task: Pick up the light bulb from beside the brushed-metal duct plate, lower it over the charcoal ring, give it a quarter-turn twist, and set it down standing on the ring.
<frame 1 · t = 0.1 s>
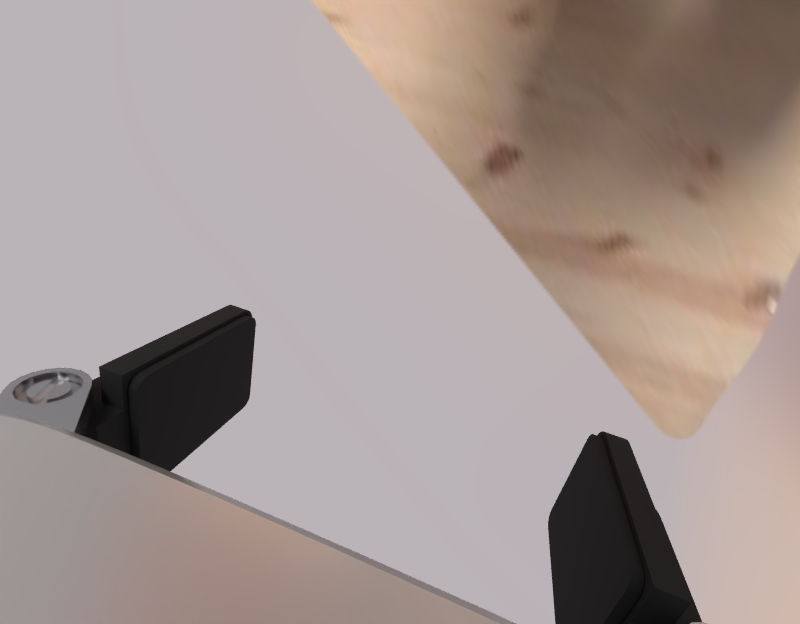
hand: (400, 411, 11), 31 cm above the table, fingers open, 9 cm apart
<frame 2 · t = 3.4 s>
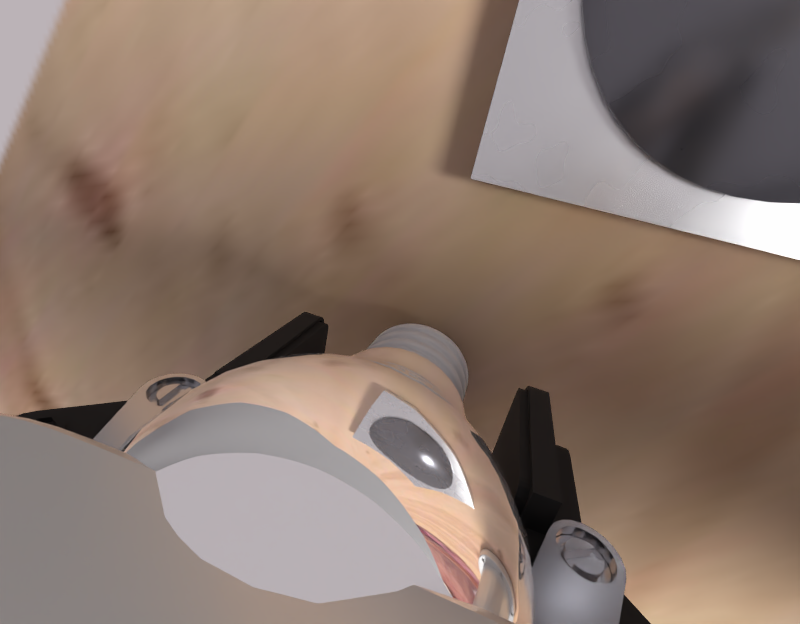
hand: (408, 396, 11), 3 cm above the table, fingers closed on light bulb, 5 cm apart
light bulb: (426, 350, 14), on the table, touching gripper
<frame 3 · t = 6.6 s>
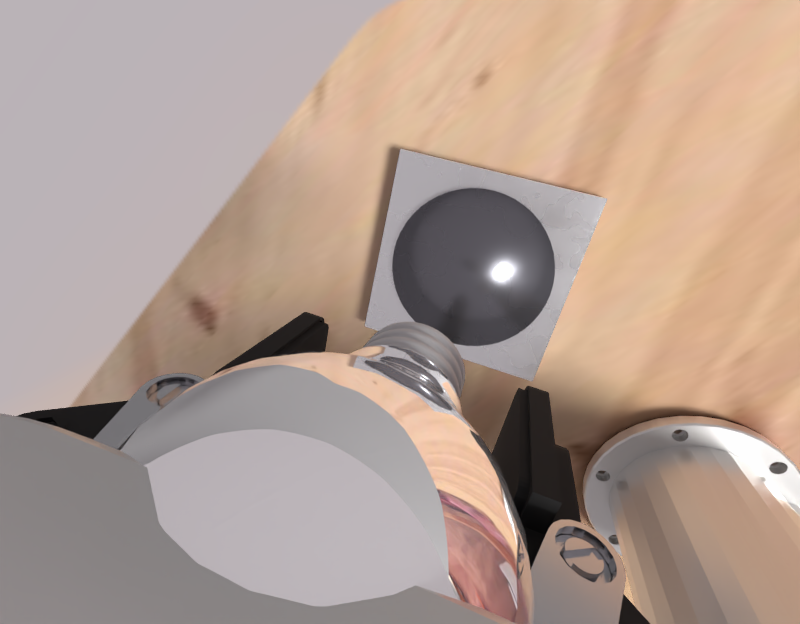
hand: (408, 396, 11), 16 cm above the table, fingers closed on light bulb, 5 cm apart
light bulb: (423, 349, 14), point 13 cm above the table, touching gripper
duct plate: (471, 267, 26), on the table
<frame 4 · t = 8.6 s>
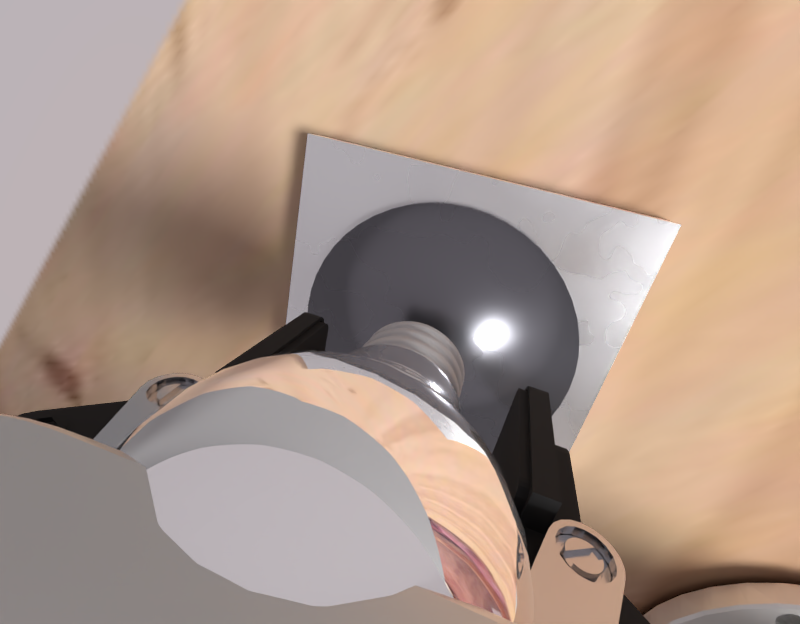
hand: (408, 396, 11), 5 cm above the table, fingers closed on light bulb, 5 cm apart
light bulb: (422, 348, 14), point 2 cm above the table, touching gripper
duct plate: (437, 330, 16), on the table
when the fingers open (5 cm above the table, at t = 10.1 s): light bulb stays where it is, resting on duct plate.
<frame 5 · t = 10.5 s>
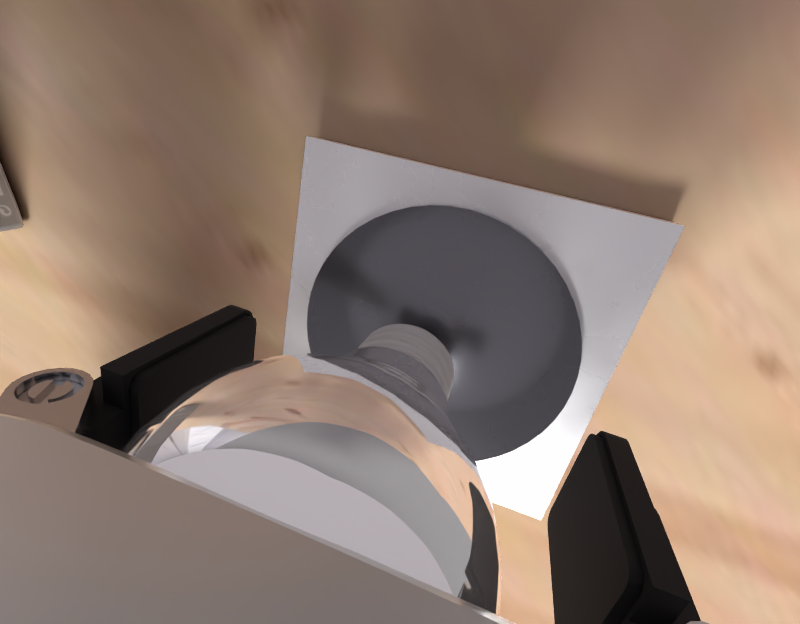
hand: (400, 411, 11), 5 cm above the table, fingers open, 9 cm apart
light bulb: (416, 349, 15), point 1 cm above the table, touching duct plate
duct plate: (438, 334, 16), on the table
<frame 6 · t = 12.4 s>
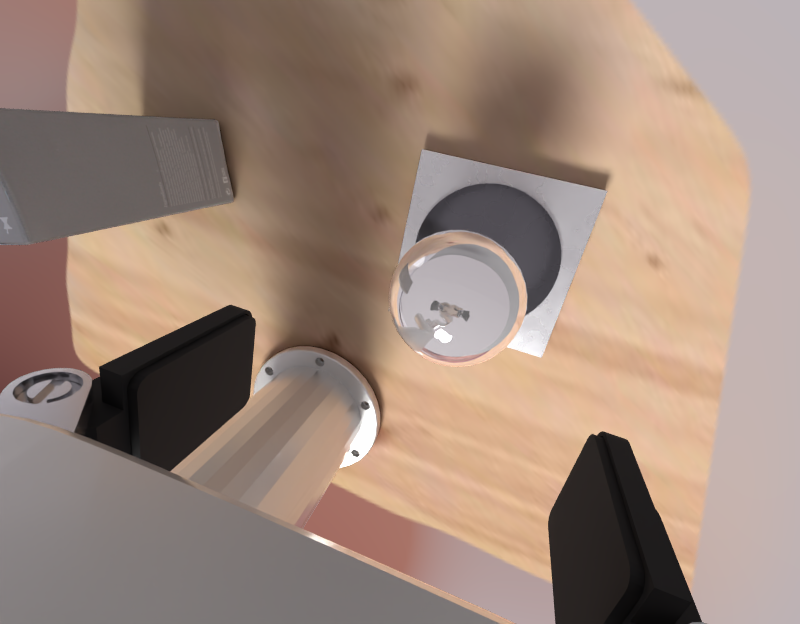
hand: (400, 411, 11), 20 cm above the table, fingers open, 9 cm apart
skincare box: (190, 170, 34), on the table
light bulb: (475, 261, 28), point 1 cm above the table, touching duct plate
duct plate: (485, 255, 29), on the table
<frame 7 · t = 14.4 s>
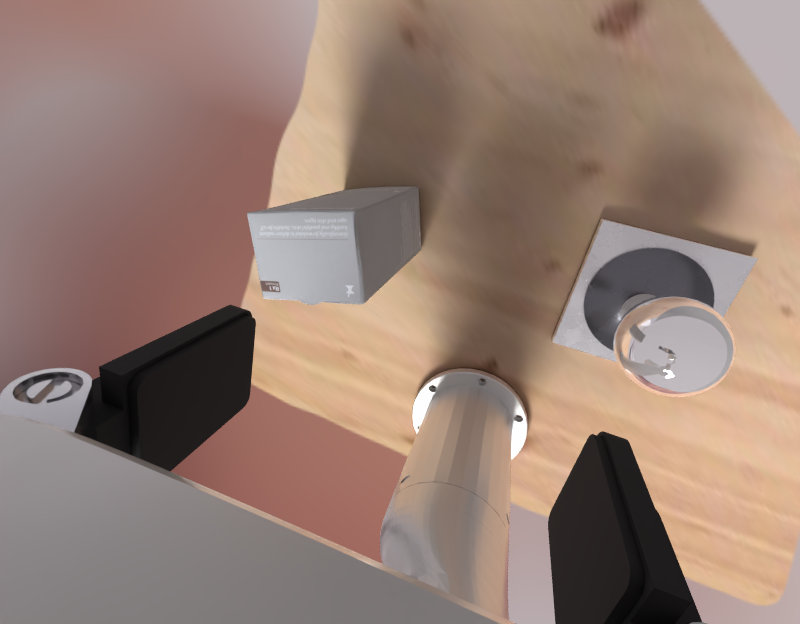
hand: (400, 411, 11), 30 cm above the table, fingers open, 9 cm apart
skincare box: (381, 223, 41), on the table
light bulb: (637, 306, 36), point 1 cm above the table, touching duct plate
duct plate: (642, 300, 36), on the table
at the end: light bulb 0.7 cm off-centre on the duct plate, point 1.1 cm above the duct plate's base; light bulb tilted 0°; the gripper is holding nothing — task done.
